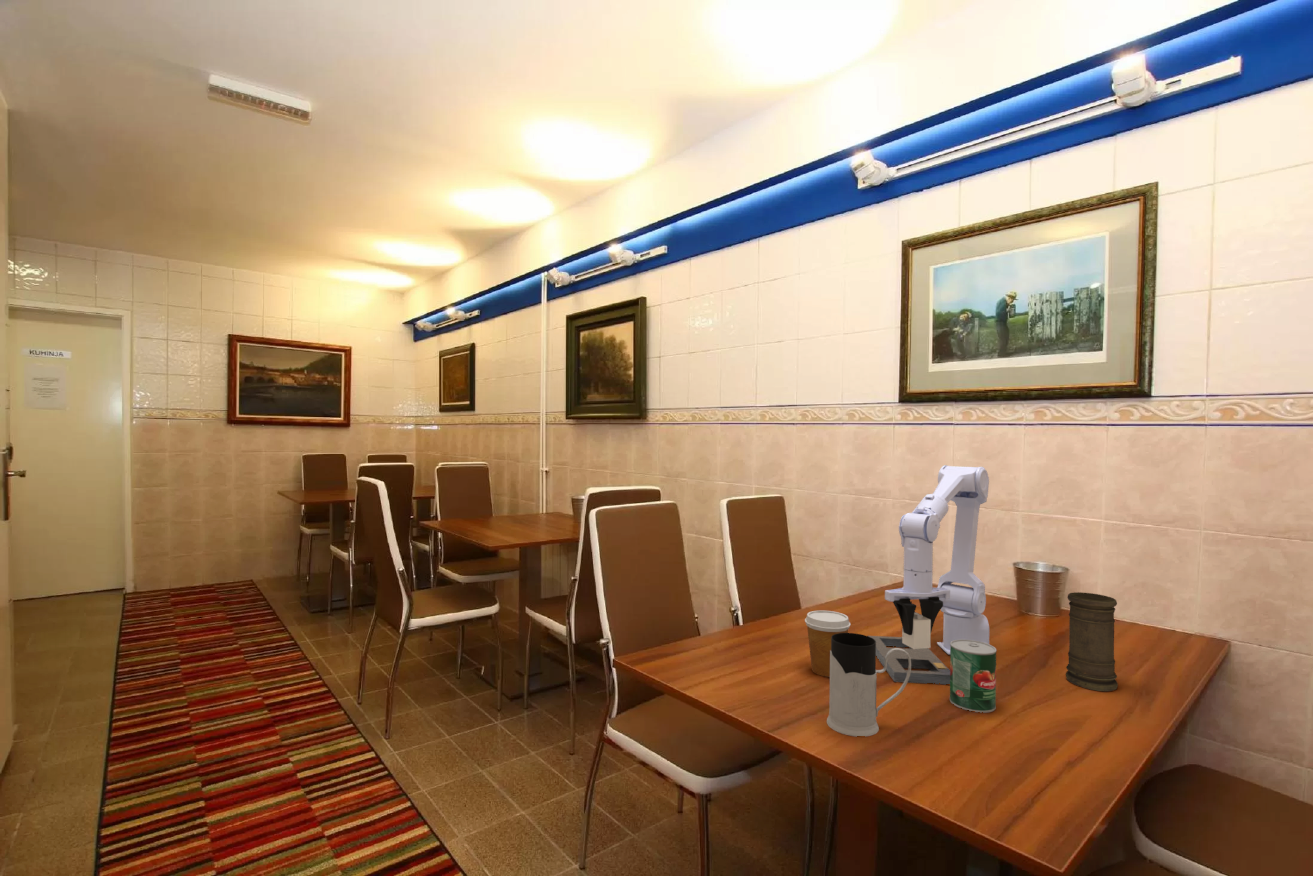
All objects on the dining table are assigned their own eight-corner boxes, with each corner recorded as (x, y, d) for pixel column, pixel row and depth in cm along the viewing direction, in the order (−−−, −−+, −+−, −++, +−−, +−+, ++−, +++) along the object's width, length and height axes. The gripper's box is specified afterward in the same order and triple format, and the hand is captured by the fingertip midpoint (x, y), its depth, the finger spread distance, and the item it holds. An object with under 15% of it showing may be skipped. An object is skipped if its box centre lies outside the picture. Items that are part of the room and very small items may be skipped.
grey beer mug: (822, 712, 114) (823, 630, 114) (902, 716, 112) (903, 634, 112) (831, 735, 105) (832, 646, 105) (918, 740, 104) (919, 650, 104)
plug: (918, 641, 135) (918, 610, 135) (930, 647, 132) (930, 615, 132) (902, 643, 135) (902, 611, 135) (913, 649, 131) (914, 616, 131)
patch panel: (918, 646, 151) (918, 637, 151) (954, 685, 127) (954, 674, 127) (867, 643, 152) (867, 635, 152) (894, 681, 128) (894, 671, 128)
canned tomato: (994, 716, 113) (995, 656, 113) (946, 706, 117) (947, 648, 117) (997, 701, 120) (997, 644, 120) (952, 692, 124) (952, 636, 124)
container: (1102, 695, 123) (1104, 604, 123) (1056, 679, 131) (1057, 594, 131) (1127, 687, 127) (1128, 599, 127) (1080, 672, 135) (1081, 589, 135)
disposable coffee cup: (852, 667, 136) (853, 613, 136) (846, 683, 127) (847, 624, 127) (808, 660, 140) (809, 607, 140) (800, 675, 131) (800, 618, 131)
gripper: (935, 564, 138) (934, 625, 138) (877, 566, 135) (876, 629, 135) (957, 571, 131) (956, 635, 131) (896, 573, 128) (895, 639, 128)
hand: (917, 633), depth 133 cm, fingers closed on plug, 4 cm apart
